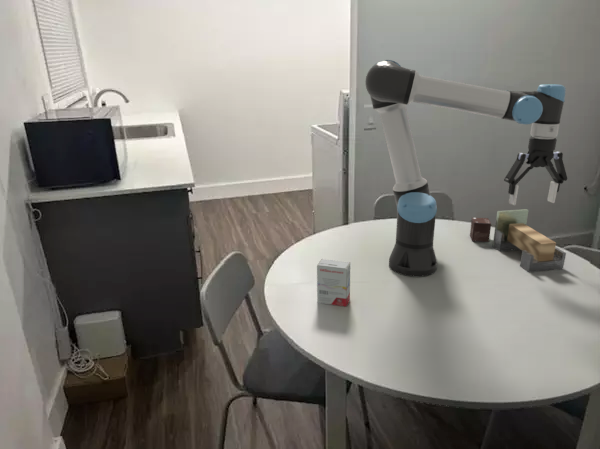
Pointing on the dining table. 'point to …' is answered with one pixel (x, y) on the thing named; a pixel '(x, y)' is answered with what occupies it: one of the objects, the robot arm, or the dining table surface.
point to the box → (480, 229)
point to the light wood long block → (531, 241)
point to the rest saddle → (534, 265)
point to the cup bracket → (507, 228)
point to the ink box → (333, 282)
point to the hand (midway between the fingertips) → (531, 202)
